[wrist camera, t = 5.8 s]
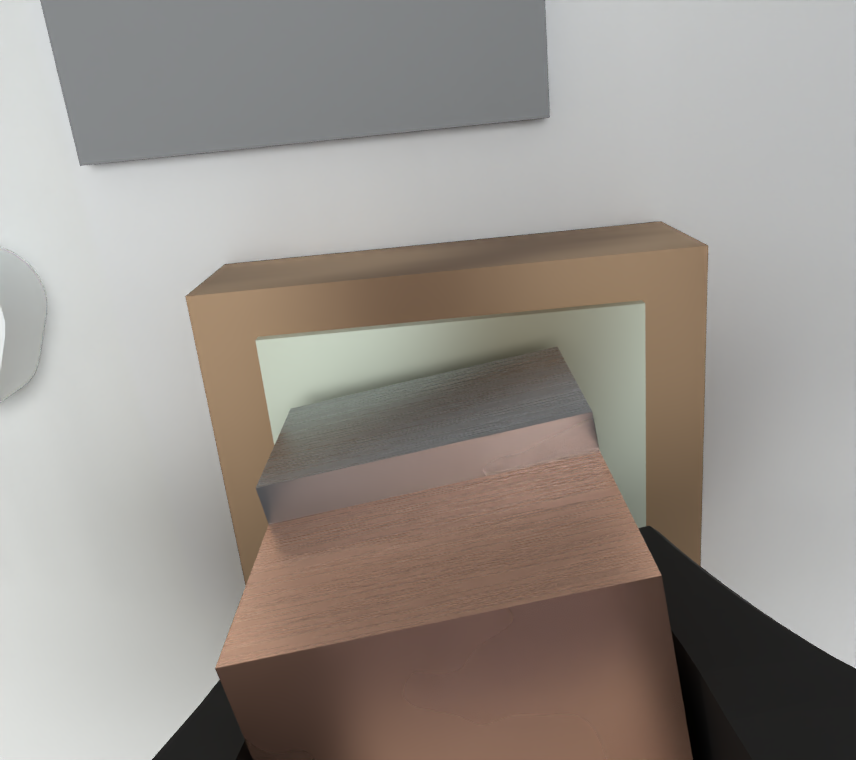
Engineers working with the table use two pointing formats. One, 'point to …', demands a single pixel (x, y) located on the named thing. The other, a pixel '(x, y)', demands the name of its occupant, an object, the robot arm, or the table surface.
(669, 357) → the stand
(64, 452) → the table surface
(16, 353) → the mounting plate
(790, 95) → the table surface
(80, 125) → the mat
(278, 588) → the block
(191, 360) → the table surface
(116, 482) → the table surface
